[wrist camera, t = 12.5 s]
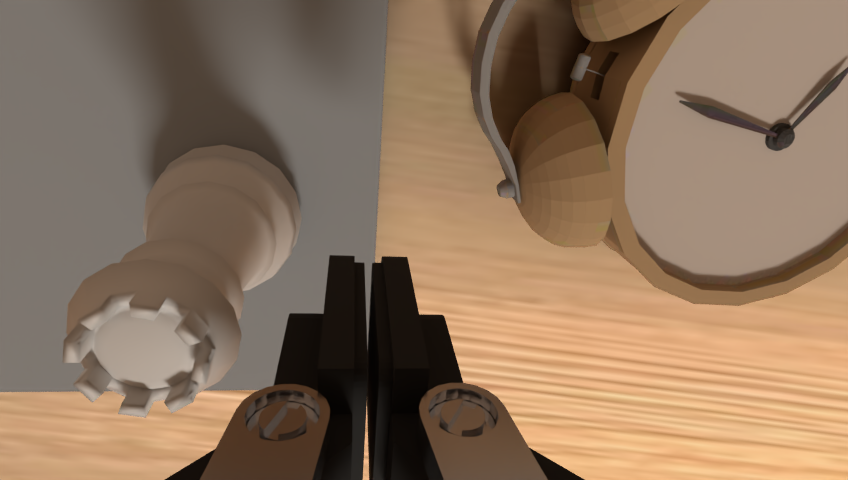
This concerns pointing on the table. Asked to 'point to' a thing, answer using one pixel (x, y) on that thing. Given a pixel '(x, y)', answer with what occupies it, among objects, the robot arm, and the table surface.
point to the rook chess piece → (183, 281)
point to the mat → (177, 150)
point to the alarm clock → (690, 142)
